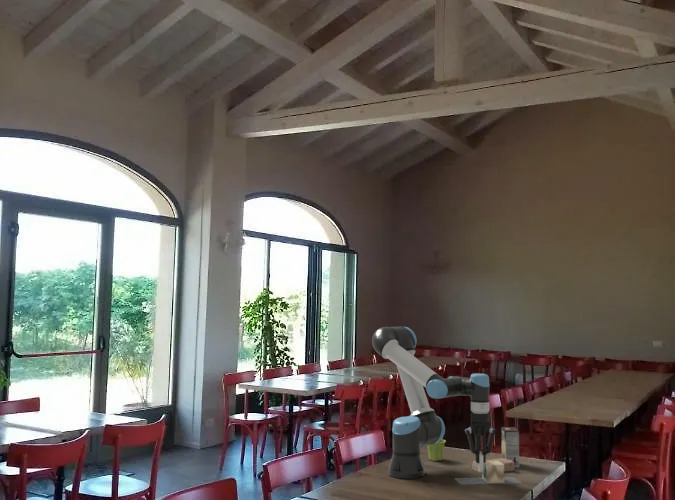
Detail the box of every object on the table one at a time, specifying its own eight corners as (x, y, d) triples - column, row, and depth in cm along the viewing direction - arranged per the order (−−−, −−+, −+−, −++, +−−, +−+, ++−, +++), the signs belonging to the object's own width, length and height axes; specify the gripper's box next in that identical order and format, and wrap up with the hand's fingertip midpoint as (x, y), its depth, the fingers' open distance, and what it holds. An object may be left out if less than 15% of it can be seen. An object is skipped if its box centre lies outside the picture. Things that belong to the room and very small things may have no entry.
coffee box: (501, 462, 318) (500, 426, 319) (515, 462, 317) (514, 426, 319) (505, 467, 308) (505, 430, 310) (520, 467, 308) (519, 430, 309)
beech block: (487, 465, 281) (504, 464, 282) (481, 461, 288) (498, 460, 289) (487, 482, 281) (504, 482, 281) (482, 478, 288) (498, 478, 288)
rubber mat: (460, 485, 278) (460, 484, 278) (453, 479, 288) (453, 478, 288) (522, 484, 281) (522, 483, 281) (513, 477, 290) (513, 476, 290)
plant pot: (423, 461, 320) (423, 442, 320) (427, 456, 329) (427, 438, 329) (444, 462, 317) (444, 443, 317) (447, 458, 326) (447, 439, 326)
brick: (480, 475, 296) (480, 463, 296) (471, 470, 304) (471, 459, 304) (515, 472, 301) (515, 461, 301) (504, 468, 309) (504, 457, 309)
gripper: (467, 413, 281) (467, 473, 280) (498, 413, 283) (499, 472, 281) (462, 410, 289) (462, 468, 287) (492, 410, 290) (493, 468, 288)
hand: (480, 470), depth 284 cm, fingers closed
